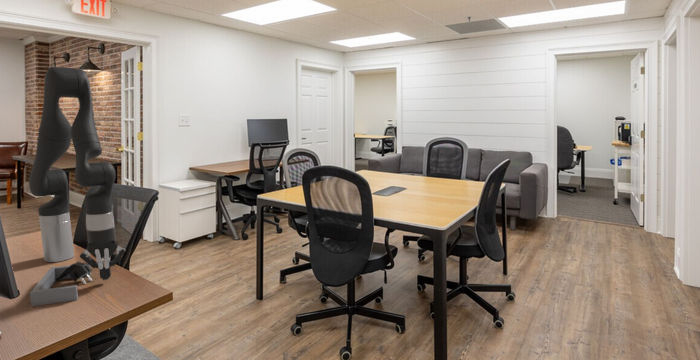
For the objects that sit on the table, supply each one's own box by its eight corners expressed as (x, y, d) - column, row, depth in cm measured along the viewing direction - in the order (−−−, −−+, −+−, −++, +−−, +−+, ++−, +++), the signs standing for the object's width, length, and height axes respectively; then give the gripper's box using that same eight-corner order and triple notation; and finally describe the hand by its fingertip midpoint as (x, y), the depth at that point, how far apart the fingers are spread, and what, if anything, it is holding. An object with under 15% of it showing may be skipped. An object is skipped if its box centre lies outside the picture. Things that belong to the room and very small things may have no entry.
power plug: (62, 274, 139) (86, 256, 137) (76, 293, 140) (100, 274, 137) (48, 281, 134) (73, 262, 131) (62, 300, 134) (87, 281, 132)
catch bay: (52, 279, 138) (50, 267, 137) (91, 274, 142) (89, 263, 141) (31, 306, 118) (29, 292, 118) (77, 299, 122) (75, 286, 122)
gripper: (125, 221, 137) (130, 272, 140) (78, 225, 132) (84, 277, 135) (123, 227, 130) (127, 280, 133) (73, 231, 126) (79, 286, 128)
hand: (105, 278), depth 134 cm, fingers closed
